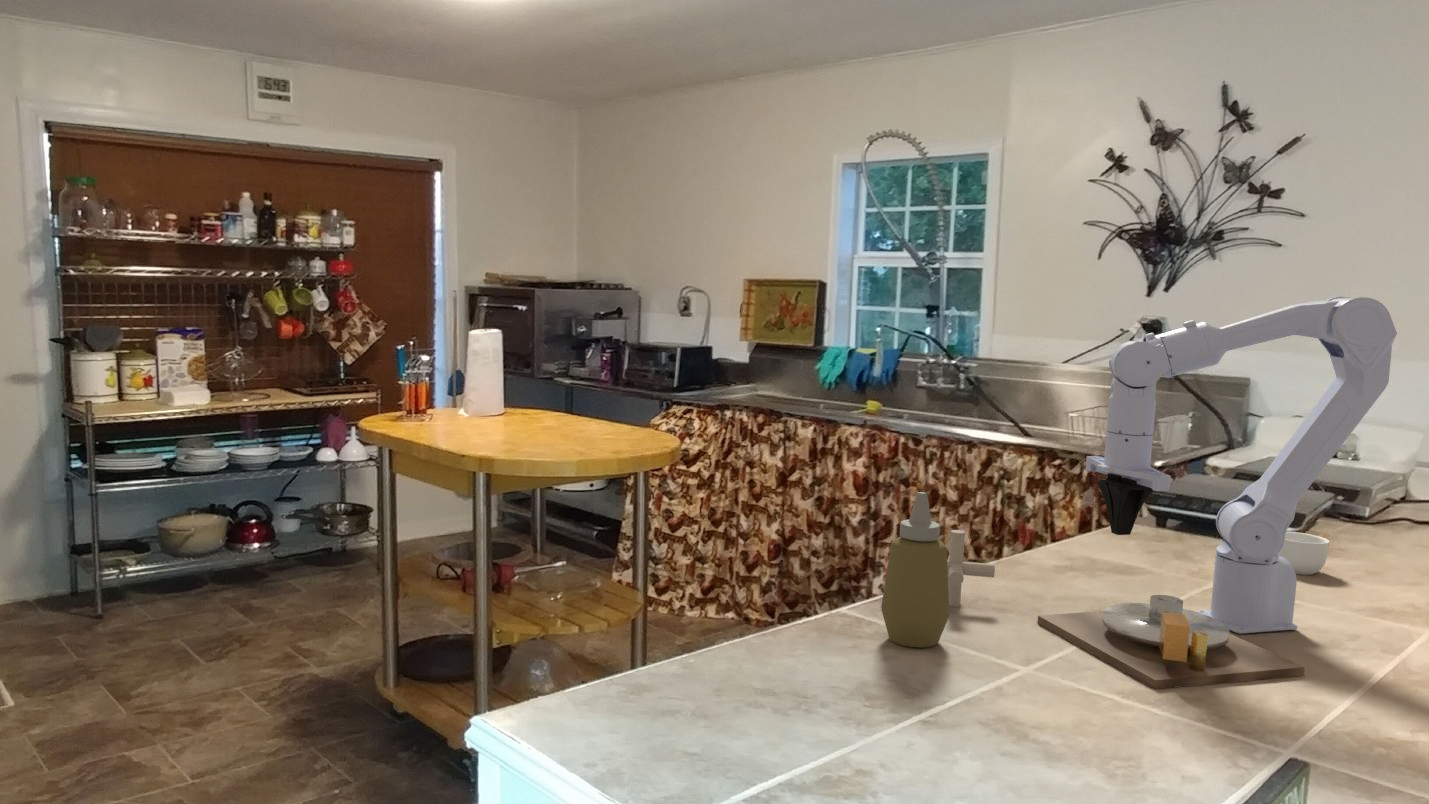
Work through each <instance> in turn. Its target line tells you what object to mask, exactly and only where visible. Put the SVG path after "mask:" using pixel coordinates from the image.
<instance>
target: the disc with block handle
mask: <svg viewBox="0 0 1429 804" xmlns="http://www.w3.org/2000/svg"><path fill="white" fill-rule="evenodd" d="M1183 604H1184V601H1183V599H1181V598H1179V597H1176V596H1172V595H1168V594H1153V595H1151V596H1150V599H1149V603H1147V602H1145V603H1143V602H1128V603H1127V602H1126V603H1118V604H1117V603H1116V604H1112V605H1109V606H1107V607H1105V608H1104V609H1103V610H1102V611H1103V616H1102V623H1103V625H1104V626H1105V627H1106V628H1107V629H1109V630H1110V631H1112V632H1114V633H1116V634H1118V635H1120V636H1123V637H1125V638H1128V639H1131V640H1134V641H1138V642H1141V643H1145V644H1150V645H1155V646H1159V648H1160V651H1161V654H1162V658H1163V659H1167V660H1175V661H1182V662H1187V652H1188V650H1191V640H1192V632H1203V633H1206V634H1208V641H1207V649H1214V648H1219V647H1222V646H1224V645H1226V644H1227V643H1228V641H1229V634H1231V632H1230V631H1231V630H1229V628H1228V627H1227V626H1226V625H1225V624H1224V623H1222V622H1220V621H1219V620H1217V619H1215V618H1212V617H1210V616H1207V615H1204V614H1201V613H1198V612H1195V611H1196V610H1195V611H1194V610H1192V609H1191V610H1190V609H1186V608H1184V607H1183V606H1184V605H1183Z"/></svg>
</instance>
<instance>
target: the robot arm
mask: <svg viewBox="0 0 1429 804" xmlns="http://www.w3.org/2000/svg"><path fill="white" fill-rule="evenodd" d="M1397 333H1398V332H1397V330H1396V327H1395V324H1394V322H1393V318H1392V317H1391V314H1390V312H1389V310H1388V308H1387V307H1386V306H1385V305H1384V304H1383V303H1382V302H1380V301H1379V300H1377V299H1375V298H1372V297H1365V296H1364V297H1363V296H1360V297H1354V298H1353V297H1348V296H1335V297H1330V298H1328V299H1326V300H1314V301H1307V302H1301V303H1297V304H1291V305H1289V306H1285V307H1281V308H1279V309H1275V310H1272V311H1269V312H1265V313H1263V314H1259V315H1256V316H1253V317H1250V318H1246V319H1244V320H1240V321H1237V322H1234V323H1231V324H1228V325H1224V326H1221V327H1216V326H1215V325H1213V324H1210V323H1209V322H1206V321H1201V322H1198V323H1196V320H1195V319H1194V320H1192V319H1191V320H1187V321H1185V322H1183V327H1180V328H1177V329H1173V330H1169V331H1165V332H1163V333H1158V334H1155V333H1154V332H1150V333H1149V332H1148V333H1146V334H1145V335H1144V337H1145V341H1143V340H1142V341H1141V340H1139V341H1137V340H1131V341H1126V342H1123V343H1121V344H1120V345H1119V346H1117V348H1115V350H1114V351H1113V353H1112V354H1111V358H1110V360H1109V361H1108V367H1109V371H1110V372H1111V375H1112V376H1113V377H1112V382H1111V384H1110V391H1111V394H1110V395H1109V399H1108V411H1107V418H1106V419H1107V421H1106V423H1107V424H1106V431H1105V432H1106V436H1105V444H1104V445H1105V447H1104V448H1105V449H1104V456H1100V455H1089V456H1088V455H1087V456H1086V459H1085V460H1086V461H1085V470H1086V471H1089V472H1097V473H1099V474H1104V475H1105V476H1106V475H1107V476H1106V477H1105V478H1100V479H1097V484H1096V485H1097V487H1098V488H1099V490H1100V492H1101V494H1102V497H1103V500H1104V502H1105V506H1106V511H1107V514H1108V520H1109V526H1110V527H1109V528H1110V532H1111V534H1114V535H1116V536H1127V535H1129V536H1130V535H1131V534H1132V531H1133V528H1134V525H1135V523H1136V520H1137V518H1138V515H1139V513H1140V510H1142V509H1141V508H1142V507H1143V505H1144V504H1145V502H1146V500H1147V499H1148V498H1149V496H1150V495H1151V494H1152V493H1153V491H1154V492H1155V491H1156V492H1169V491H1171V489H1170V488H1171V479H1172V476H1171V475H1169V474H1166V473H1164V472H1161V471H1159V470H1157V469H1155V468H1153V467H1152V466H1151V462H1152V450H1153V442H1154V441H1153V440H1154V429H1155V428H1154V427H1155V419H1156V418H1155V417H1156V408H1157V407H1156V406H1157V405H1156V404H1157V400H1156V389H1157V388H1156V387H1157V382H1158V381H1159V380H1160V379H1161V377H1162V376H1163V377H1165V378H1166V379H1167V378H1171V377H1176V376H1179V375H1182V374H1186V373H1190V372H1194V371H1197V370H1201V369H1204V368H1209V367H1212V366H1216V365H1219V363H1220V361H1221V360H1222V359H1223V357H1224V355H1225V354H1226V353H1227V352H1230V351H1233V350H1236V349H1241V348H1246V347H1251V346H1253V345H1257V344H1261V343H1266V342H1270V341H1275V340H1278V339H1281V338H1286V337H1291V336H1300V337H1307V338H1314V339H1318V340H1319V341H1320V344H1321V345H1322V346H1323V347H1324V349H1325V350H1326V351H1327V352H1328V354H1329V357H1330V360H1331V361H1330V362H1331V363H1332V368H1333V370H1334V373H1335V379H1334V380H1333V382H1332V383H1331V385H1329V387H1328V388H1327V390H1326V391H1325V392H1324V393H1323V395H1322V396H1321V397H1320V399H1319V400H1318V401H1317V403H1316V404H1315V405H1314V407H1313V408H1312V409H1311V411H1310V412H1309V413H1308V414H1307V416H1306V417H1305V419H1304V420H1303V421H1302V423H1301V424H1300V425H1299V426H1298V427H1297V429H1296V430H1295V431H1294V433H1293V434H1292V436H1291V437H1290V438H1289V440H1288V441H1287V442H1286V443H1285V445H1284V446H1283V448H1282V449H1281V450H1280V451H1279V453H1278V454H1276V455H1277V456H1275V458H1274V459H1273V460H1272V462H1271V463H1270V464H1269V465H1268V467H1267V468H1266V470H1265V471H1264V473H1263V474H1262V475H1261V476H1260V478H1258V479H1257V480H1255V481H1254V482H1252V483H1251V484H1250V485H1248V486H1247V487H1246V488H1245V489H1244V490H1243V491H1242V493H1241V494H1240V495H1239V496H1238V497H1236V498H1234V499H1232V500H1230V501H1228V502H1226V503H1225V504H1224V505H1223V506H1222V507H1221V508H1220V509H1219V511H1218V512H1217V515H1216V519H1215V526H1216V529H1217V531H1218V532H1217V533H1219V535H1220V537H1222V538H1223V539H1222V541H1221V542H1220V544H1219V545H1218V546H1217V547H1216V548H1215V558H1214V559H1215V560H1214V569H1213V577H1212V578H1213V579H1212V590H1211V600H1210V601H1211V602H1210V609H1207V610H1206V609H1202V610H1195V612H1198V613H1201V614H1204V615H1207V616H1210V617H1212V618H1215V619H1217V620H1219V621H1220V622H1222V623H1224V624H1225V625H1226V626H1227V627H1228V628H1229V631H1231V632H1233V633H1236V634H1250V633H1251V634H1252V633H1254V634H1255V633H1265V632H1267V633H1268V632H1278V631H1289V630H1290V631H1292V630H1297V629H1298V625H1297V624H1295V623H1293V622H1294V611H1295V601H1296V591H1297V585H1298V584H1297V582H1298V581H1297V580H1298V579H1297V574H1295V571H1294V568H1293V566H1292V565H1291V563H1290V562H1289V561H1288V560H1286V559H1285V558H1283V557H1281V556H1279V555H1277V554H1278V553H1279V551H1280V550H1281V549H1282V547H1283V544H1284V540H1285V533H1286V532H1288V531H1287V530H1288V529H1289V527H1290V525H1292V522H1293V521H1294V519H1295V516H1296V510H1297V507H1298V506H1297V505H1298V502H1299V501H1300V500H1301V499H1302V497H1303V496H1304V495H1305V493H1306V492H1307V490H1308V489H1309V488H1310V486H1311V485H1312V484H1313V483H1314V482H1315V480H1316V479H1317V478H1318V476H1319V475H1320V473H1321V472H1322V471H1323V470H1324V468H1325V467H1326V466H1327V465H1328V464H1329V462H1331V459H1332V458H1333V457H1334V456H1335V455H1336V453H1337V452H1338V450H1339V449H1340V448H1341V447H1342V446H1343V444H1344V443H1345V442H1346V440H1347V439H1348V437H1350V435H1351V433H1352V432H1354V430H1355V428H1357V426H1358V425H1359V424H1360V422H1361V421H1362V420H1363V419H1364V417H1365V416H1366V414H1367V413H1368V412H1369V411H1370V409H1371V408H1372V407H1373V405H1374V404H1375V403H1376V402H1377V400H1378V399H1379V398H1380V396H1381V395H1382V394H1383V393H1384V392H1385V390H1386V388H1387V386H1388V385H1389V381H1390V372H1391V371H1390V370H1391V359H1392V352H1393V351H1392V349H1393V345H1394V341H1395V339H1396V337H1397Z"/></svg>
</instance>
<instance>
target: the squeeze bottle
mask: <svg viewBox="0 0 1429 804" xmlns="http://www.w3.org/2000/svg"><path fill="white" fill-rule="evenodd" d="M899 525H900V526H899V537H897V538H895V539H894V540H893V541H892V542H891V543H890V551H889V556H888V562H887V568H886V569H887V570H886V573H885V574H886V575H885V581H884V588H883V594H882V600H881V607H880V608H881V614H882V617H883V619H884V620H883V621H884V625H885V627H886V631H887V636H888V638H889V640H890V641H892V642H893V643H895V644H897V645H900V646H904V647H910V648H921V649H922V648H930V647H934V646H936V645H938V643H940V642H939V641H940V639H941V637H942V634H943V632H944V631H945V627H946V626H947V622H948V620H949V619H950V618H949V617H950V606H949V590H948V565H947V560H948V548H947V545H945V544H944V542H943V541H940V540H939V539H940V536H941V535H940V534H941V525H940V524H939V522H936V521H934V520H933V521H932V516H931V510H930V503H929V497H928V493H927V492H924V491H920V492H919V491H918V492H916V493H915V499H914V502H913V506H912V509H911V513H910V516H909V519H904V520H901V521H900V522H899Z"/></svg>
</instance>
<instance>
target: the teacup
mask: <svg viewBox="0 0 1429 804" xmlns="http://www.w3.org/2000/svg"><path fill="white" fill-rule="evenodd" d="M1329 548H1330V540H1329V539H1328V538H1325V537H1323V536H1319V535H1315V534H1310V533H1306V532H1305V533H1304V532H1297V531H1286V533H1285V540H1284V544H1283V547H1282V549H1281V550H1280V551H1279V553H1278V554H1277V555H1279V556H1281V557H1283V558H1285V559H1286V560H1288V561H1289V562H1290V563H1291V565H1292V566H1293V568H1294V571H1295V574H1296V575H1303V576H1309V575H1310V576H1311V575H1314V574H1317V573H1318V572H1319V571H1321V570H1322V569H1323V567H1324V566H1325V564H1326V561H1327V558H1328V553H1329Z"/></svg>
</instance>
